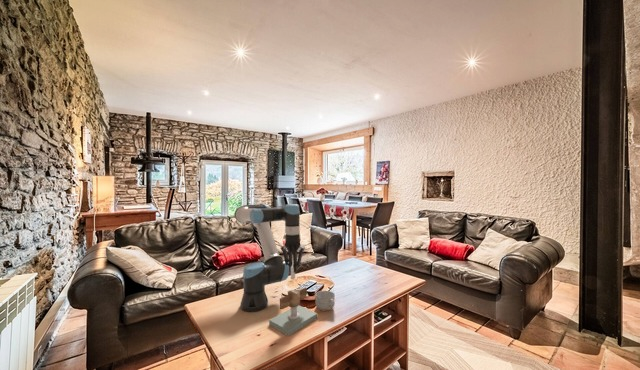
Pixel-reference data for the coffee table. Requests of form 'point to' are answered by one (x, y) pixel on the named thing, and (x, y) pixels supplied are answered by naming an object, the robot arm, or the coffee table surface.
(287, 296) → the knob
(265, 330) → the coffee table surface
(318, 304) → the teacup
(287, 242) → the robot arm
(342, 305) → the coffee table surface
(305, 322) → the grey-green base
